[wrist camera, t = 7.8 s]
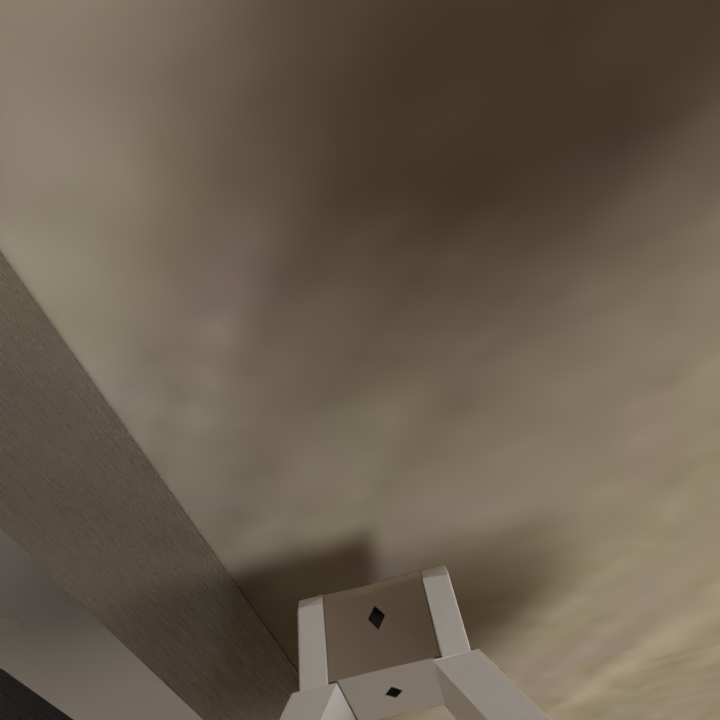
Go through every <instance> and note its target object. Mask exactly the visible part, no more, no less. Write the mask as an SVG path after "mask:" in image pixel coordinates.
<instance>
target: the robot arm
mask: <svg viewBox="0 0 720 720" xmlns="http://www.w3.org/2000/svg"><path fill="white" fill-rule="evenodd" d="M421 576H422V577H421ZM297 617H298V661H299V691H297V692H293V693H291V696H290V698H289V700H288V702H287V704H286V706H285V708H284V710H283V712H282V714H281V716H280V718H279V720H378V719H382V718H386V717H390V716H393V715H397V714H401V713H406V712H411V711H415V710H420V709H425V708H430V707H435V706H440V705H446V707H447V709H448V710H449V711H450V712H451V713H452V715H453V716H454V717H455V718H456V720H551V719H550V718H549V717H548V716H547V715H546V714H545V713H544V712H543V711H542V710H541V709H540V708H539V707H538V706H537V705H536V704H535V703H534V702H533V701H532V700H531V699H530V698H529V697H528V696H527V695H526V694H525V693H524V692H523V691H522V690H521V689H520V688H519V687H518V686H517V685H515V684H514V683H513V682H512V681H511V680H510V679H509V678H508V677H507V676H506V675H505V674H504V673H503V672H502V671H501V670H500V669H499V668H498V667H497V666H496V665H495V664H494V663H493V662H492V661H491V660H490V659H489V658H488V657H487V656H486V655H485V654H484V653H483V652H482V651H481V650H480V649H474V650H471V648H470V645H469V641H468V638H467V635H466V631H465V628H464V624H463V621H462V618H461V614H460V611H459V607H458V604H457V601H456V597H455V594H454V590H453V587H452V584H451V580H450V577H449V573H448V571H447V568H446V566H445V565H442V566H438V567H434V568H430V569H426V570H422V571H421V574H420V571H416V572H413V573H409V574H405V575H401V576H397V577H393V578H390V579H386V580H382V581H378V582H374V583H371V584H367V585H363V586H359V587H355V588H351V589H347V590H342V591H338V592H334V593H330V594H324V595H320V596H316V597H312V598H308V599H304V600H300V601H299V605H298V610H297Z"/></svg>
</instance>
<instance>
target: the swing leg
mask: <svg viewBox="0 0 720 720" xmlns="http://www.w3.org/2000/svg"><path fill="white" fill-rule="evenodd" d="M0 668H1V669H3V670H4V671H6V672H7V673H8V674H10V675H11V676H13V677H14V678H15V679H17V680H18V681H20V682H21V683H22V684H24V685H25V686H27V687H28V688H30V689H31V690H32V691H34V692H35V693H37V694H38V695H39V696H41V697H42V698H44V699H45V700H46V701H48V702H49V703H51V704H52V705H53V706H55V707H56V708H58V709H59V710H61V711H62V712H63V713H65V714H66V715H68V716H69V717H70V718H72V719H73V720H279V718H280V716H281V714H282V712H283V710H284V708H285V706H286V704H287V702H288V700H289V698H290V696H291V693H293V692H297V691H299V673H298V672H297V671H296V669H295V668H294V666H293V665H292V664H291V662H290V661H289V659H288V658H287V657H286V655H285V654H284V652H283V651H282V649H281V648H280V647H279V645H278V644H277V642H276V641H275V640H274V638H273V637H272V635H271V634H270V632H269V631H268V630H267V628H266V627H265V625H264V624H263V623H262V621H261V620H260V618H259V617H258V615H257V614H256V613H255V611H254V610H253V608H252V607H251V606H250V604H249V603H248V601H247V600H246V598H245V597H244V596H243V594H242V593H241V591H240V590H239V589H238V587H237V586H236V584H235V583H234V581H233V580H232V579H231V577H230V576H229V574H228V573H227V572H226V570H225V569H224V567H223V566H222V564H221V563H220V562H219V560H218V559H217V557H216V556H215V555H214V553H213V552H212V550H211V549H210V548H209V546H208V545H207V543H206V542H205V540H204V539H203V538H202V536H201V535H200V533H199V532H198V531H197V529H196V528H195V526H194V525H193V523H192V522H191V521H190V519H189V518H188V516H187V515H186V514H185V512H184V511H183V509H182V508H181V506H180V505H179V504H178V502H177V501H176V499H175V498H174V497H173V495H172V494H171V492H170V491H169V489H168V488H167V487H166V485H165V484H164V482H163V481H162V480H161V478H160V477H159V475H158V474H157V472H156V471H155V470H154V468H153V467H152V465H151V464H150V463H149V461H148V460H147V458H146V457H145V455H144V454H143V453H142V451H141V450H140V448H139V447H138V446H137V444H136V443H135V441H134V440H133V439H132V437H131V436H130V434H129V433H128V431H127V430H126V429H125V427H124V426H123V424H122V423H121V422H120V420H119V419H118V417H117V416H116V414H115V413H114V412H113V410H112V409H111V407H110V406H109V405H108V403H107V402H106V400H105V399H104V397H103V396H102V395H101V393H100V392H99V390H98V389H97V388H96V386H95V385H94V383H93V382H92V380H91V379H90V378H89V376H88V375H87V373H86V372H85V371H84V369H83V368H82V366H81V365H80V363H79V362H78V361H77V359H76V358H75V356H74V355H73V354H72V352H71V351H70V349H69V348H68V346H67V345H66V344H65V342H64V341H63V339H62V338H61V337H60V335H59V334H58V332H57V331H56V330H55V328H54V327H53V325H52V324H51V322H50V321H49V320H48V318H47V317H46V315H45V314H44V313H43V311H42V310H41V308H40V307H39V305H38V304H37V303H36V301H35V300H34V298H33V297H32V296H31V294H30V293H29V291H28V290H27V288H26V287H25V286H24V284H23V283H22V281H21V280H20V279H19V277H18V276H17V274H16V273H15V271H14V270H13V269H12V267H11V266H10V264H9V263H8V262H7V260H6V259H5V257H4V256H3V254H2V253H1V252H0Z"/></svg>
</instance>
